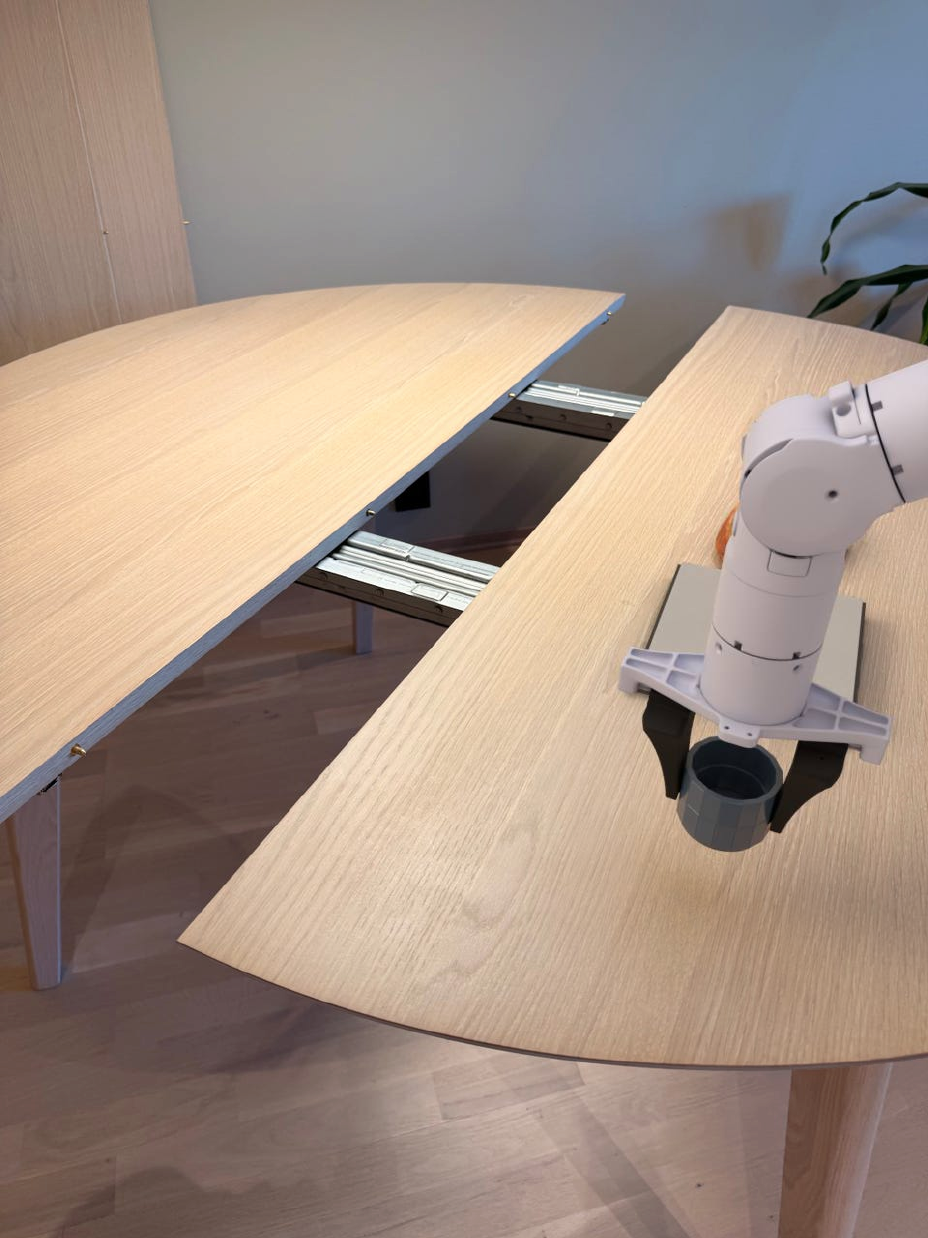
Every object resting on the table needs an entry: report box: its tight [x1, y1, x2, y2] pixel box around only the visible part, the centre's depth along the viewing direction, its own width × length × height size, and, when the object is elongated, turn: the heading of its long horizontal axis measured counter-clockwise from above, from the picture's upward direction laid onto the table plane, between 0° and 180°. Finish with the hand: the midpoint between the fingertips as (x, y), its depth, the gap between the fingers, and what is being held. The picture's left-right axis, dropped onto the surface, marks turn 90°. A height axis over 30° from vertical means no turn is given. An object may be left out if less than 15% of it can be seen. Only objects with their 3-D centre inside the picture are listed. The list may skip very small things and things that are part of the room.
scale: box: [636, 561, 867, 704], centre depth 82 cm, size 17×17×3 cm
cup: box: [676, 735, 784, 853], centre depth 57 cm, size 6×6×4 cm
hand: (724, 803), depth 58 cm, fingers closed on cup, 6 cm apart
